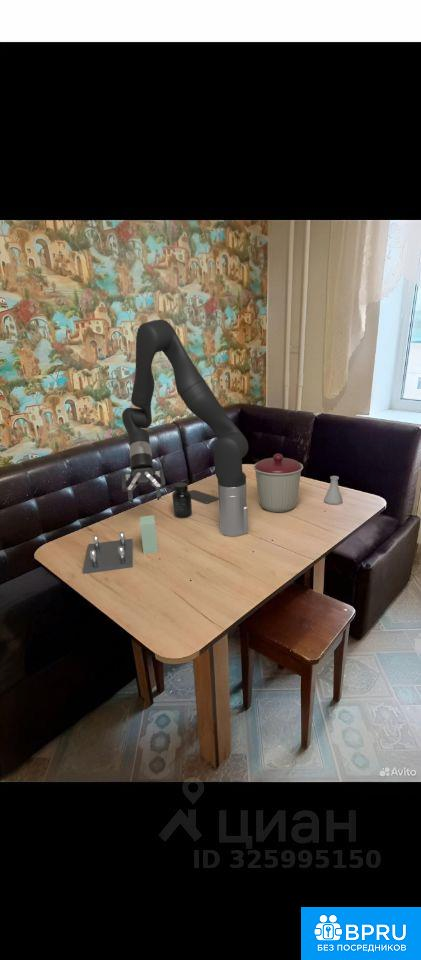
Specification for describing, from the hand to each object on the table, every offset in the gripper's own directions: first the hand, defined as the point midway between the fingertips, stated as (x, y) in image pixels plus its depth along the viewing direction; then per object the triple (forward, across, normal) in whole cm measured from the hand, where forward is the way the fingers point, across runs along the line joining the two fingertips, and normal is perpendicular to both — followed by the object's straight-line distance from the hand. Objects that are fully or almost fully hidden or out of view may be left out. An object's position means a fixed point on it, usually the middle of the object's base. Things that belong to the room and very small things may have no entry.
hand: (145, 500), depth 132 cm
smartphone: (-12, +22, +31) cm, 40 cm away
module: (+15, 0, +3) cm, 16 cm away
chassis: (+17, -12, +2) cm, 21 cm away
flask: (+2, +71, +17) cm, 73 cm away
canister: (+1, +49, +17) cm, 52 cm away
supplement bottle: (-1, +13, +19) cm, 23 cm away
